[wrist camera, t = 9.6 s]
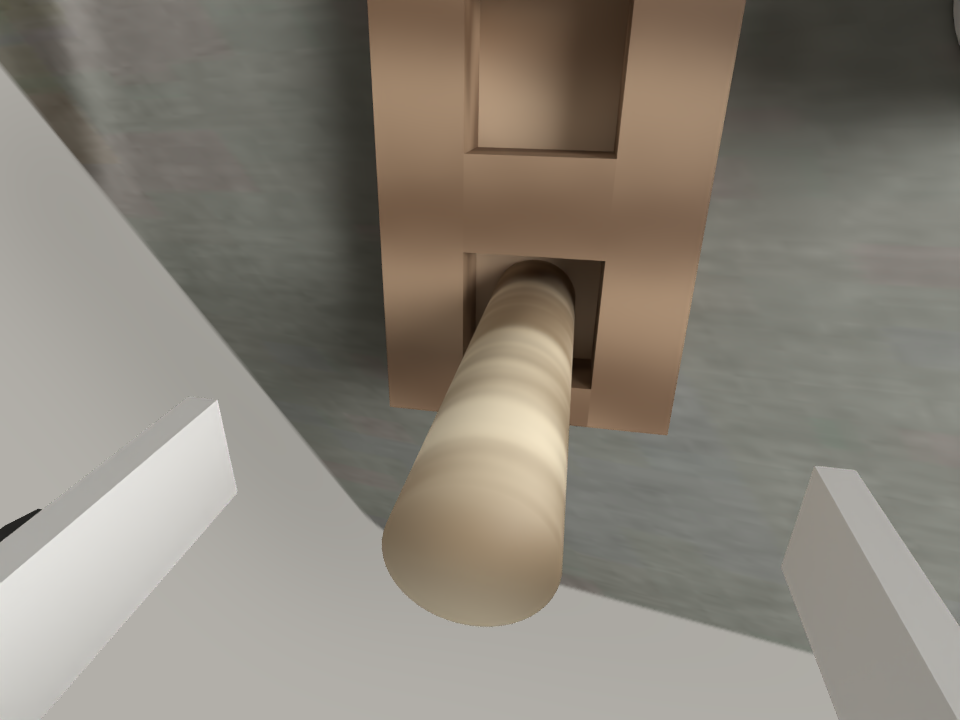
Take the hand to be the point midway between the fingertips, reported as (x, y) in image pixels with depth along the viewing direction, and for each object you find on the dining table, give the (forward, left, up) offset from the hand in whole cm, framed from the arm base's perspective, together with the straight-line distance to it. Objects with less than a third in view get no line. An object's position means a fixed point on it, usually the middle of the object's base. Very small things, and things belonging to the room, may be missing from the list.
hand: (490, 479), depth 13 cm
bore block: (-4, 0, -15) cm, 15 cm away
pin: (0, 0, -14) cm, 14 cm away
